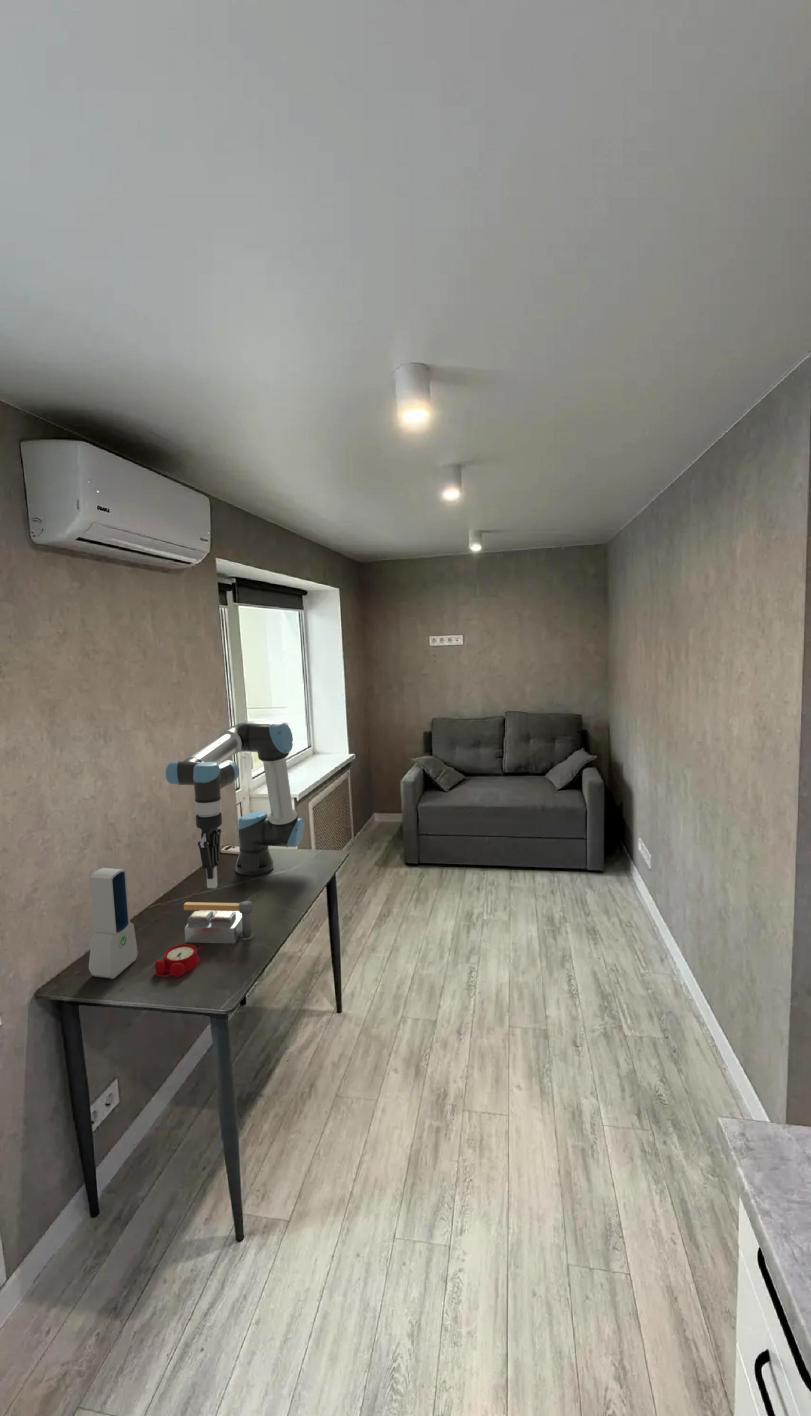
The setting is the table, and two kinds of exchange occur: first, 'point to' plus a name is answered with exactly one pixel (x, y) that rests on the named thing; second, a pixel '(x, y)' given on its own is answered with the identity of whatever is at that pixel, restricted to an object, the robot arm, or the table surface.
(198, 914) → the grey boxy piece
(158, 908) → the table surface
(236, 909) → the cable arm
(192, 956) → the alarm clock
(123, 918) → the electronic device
